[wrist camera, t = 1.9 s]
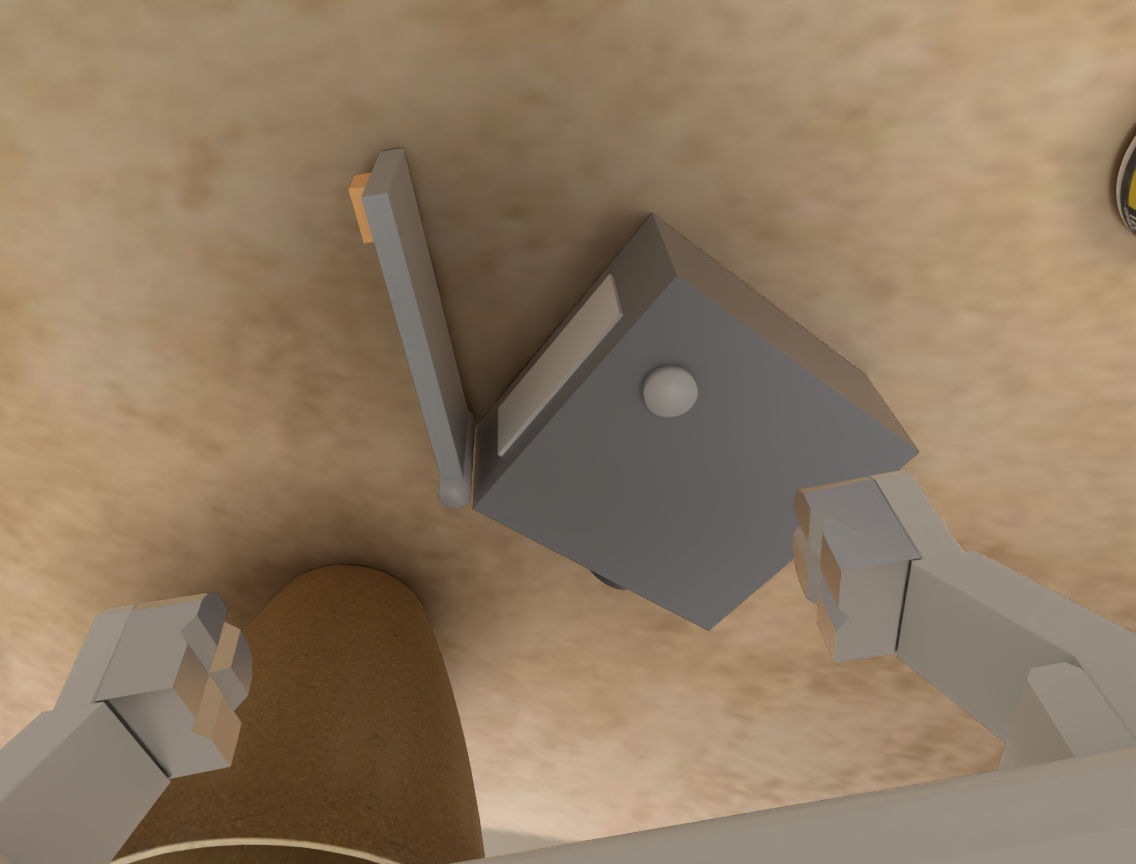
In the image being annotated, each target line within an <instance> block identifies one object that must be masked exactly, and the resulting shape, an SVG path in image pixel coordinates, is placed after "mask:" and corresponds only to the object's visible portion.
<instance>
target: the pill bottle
mask: <svg viewBox="0 0 1136 864" xmlns="http://www.w3.org/2000/svg"><path fill="white" fill-rule="evenodd" d="M1116 198H1117V205H1118V209H1119V212H1120V215H1121V218H1122V220H1123V221H1124V223H1125V225H1126V226H1127V227H1128V229H1129V230H1130V231H1131V232H1132V233H1133V234H1134V235H1135V236H1136V136H1135V137H1134V139H1133V141H1132V142H1131V144H1130V146H1129V148H1128V149H1127V151H1126V153H1125V156H1124V158H1123V161H1122V163H1121V166H1120V170H1119V173H1118V178H1117V185H1116Z"/></svg>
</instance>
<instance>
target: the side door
mask: <svg viewBox="0 0 1136 864" xmlns="http://www.w3.org/2000/svg"><path fill="white" fill-rule="evenodd" d="M348 191H349V194H350V198H351V201H352V204H353V208H354V211H355V215H356V218H357V222H358V225H359V228H360V232H361V235H362V239H363V242H364V243H370V242H374V245H375V248H376V252H377V255H378V259H379V262H380V266H381V269H382V273H383V276H384V280H385V283H386V287H387V290H388V294H389V297H390V301H391V304H392V308H393V311H394V315H395V318H396V322H397V325H398V329H399V332H400V336H401V339H402V343H403V346H404V350H405V353H406V357H407V360H408V364H409V367H410V371H411V375H412V378H413V382H414V385H415V389H416V392H417V396H418V399H419V403H420V406H421V410H422V413H423V417H424V420H425V424H426V427H427V431H428V434H429V438H430V441H431V445H432V448H433V452H434V455H435V459H436V462H437V466H438V469H439V473H440V483H439V493H438V498H439V500H440V502H441V503H442V504H443V505H444V506H446V507H449V508H453V509H457V508H462V507H464V506H466V505H467V504H468V503H469V501H470V499H471V487H472V469H473V451H474V433H475V417H474V415H473V414H472V413H471V412H470V411H468V408H467V404H466V400H465V396H464V392H463V388H462V384H461V380H460V376H459V372H458V368H457V364H456V359H455V355H454V351H453V347H452V343H451V339H450V335H449V331H448V327H447V323H446V319H445V315H444V311H443V307H442V303H441V298H440V294H439V290H438V286H437V282H436V278H435V274H434V270H433V266H432V262H431V258H430V254H429V250H428V246H427V242H426V238H425V233H424V229H423V225H422V221H421V217H420V213H419V209H418V205H417V201H416V197H415V193H414V189H413V185H412V181H411V177H410V173H409V168H408V164H407V160H406V156H405V152H404V148H399V149H393V150H387V151H380V153H379V156H378V158H377V161H376V163H375V165H374V168H373V170H372V172H371V173H366V174H360V175H355V176H354V178H353V180H352V182H351V184H350V187H349V189H348Z"/></svg>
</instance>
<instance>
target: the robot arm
mask: <svg viewBox="0 0 1136 864" xmlns="http://www.w3.org/2000/svg"><path fill="white" fill-rule="evenodd" d="M793 511H794V513H795V515H796V517H797V520H798V522H799V524H800V525H799V527H798V528H797V529H796V530H795V531H794V533H793V555H794V561H795V567H796V571H797V575H798V578H799V581H800V584H801V587H802V589H803V592H804V594H805V597H806V598H807V599H808V600H810V601H811V602H813V603H814V604H816V605H817V606H818V613H817V625H818V627H819V629H820V632H821V634H822V636H823V639H824V641H825V643H826V645H827V648H828V650H829V652H830V655H831V657H832V659H833V661H834V663H835V662H842V661H849V660H856V659H863V658H870V657H877V656H883V655H890V654H897V656H896V657H898V658H899V659H900V660H901V661H903V662H904V663H905V664H906V665H908V666H909V667H910V668H911V669H913V670H914V671H915V672H917V673H918V674H919V675H920V676H922V677H923V678H924V679H925V680H927V681H928V682H929V683H930V684H932V685H933V686H934V687H935V688H937V689H938V690H939V691H941V692H942V693H943V694H944V695H946V696H947V697H948V698H949V699H951V700H952V701H953V702H954V703H956V704H957V705H958V706H959V707H961V708H962V709H963V710H965V711H966V712H967V713H968V714H970V715H971V716H972V717H973V718H975V719H976V720H977V721H978V722H980V723H981V724H982V725H983V726H985V727H986V728H987V729H988V730H990V731H991V732H992V733H994V734H995V735H996V736H997V737H999V738H1000V739H1001V740H1002V741H1004V742H1005V743H1006V744H1005V747H1004V750H1003V753H1002V756H1001V759H1000V762H999V765H998V768H997V770H996V771H991V772H985V773H979V774H973V775H967V776H961V777H955V778H950V779H944V780H938V781H932V782H926V783H920V784H914V785H908V786H903V787H897V788H891V789H885V790H879V791H873V792H867V793H862V794H856V795H850V796H844V797H838V798H832V799H826V800H821V801H815V802H809V803H803V804H797V805H791V806H785V807H780V808H774V809H768V810H762V811H756V812H750V813H744V814H739V815H733V816H727V817H721V818H715V819H709V820H703V821H698V822H692V823H686V824H680V825H674V826H668V827H662V828H657V829H651V830H645V831H639V832H633V833H627V834H621V835H615V836H610V837H604V838H598V839H592V840H586V841H580V842H574V843H569V844H563V845H557V846H551V847H545V848H539V849H533V850H528V851H522V852H516V853H510V854H504V855H498V856H492V857H486V858H481V859H475V860H469V861H463V862H457V863H451V864H1136V634H1135V633H1133V632H1131V631H1129V630H1127V629H1125V628H1123V627H1122V626H1120V625H1118V624H1116V623H1114V622H1112V621H1110V620H1108V619H1106V618H1104V617H1102V616H1100V615H1098V614H1097V613H1095V612H1093V611H1091V610H1089V609H1087V608H1085V607H1083V606H1081V605H1079V604H1077V603H1075V602H1073V601H1072V600H1070V599H1068V598H1066V597H1064V596H1062V595H1060V594H1058V593H1056V592H1054V591H1052V590H1050V589H1048V588H1047V587H1045V586H1043V585H1041V584H1039V583H1037V582H1035V581H1033V580H1031V579H1029V578H1027V577H1025V576H1023V575H1022V574H1020V573H1018V572H1016V571H1014V570H1012V569H1010V568H1008V567H1006V566H1004V565H1002V564H1000V563H999V562H997V561H995V560H993V559H991V558H989V557H987V556H985V555H983V554H981V553H979V552H977V551H968V552H964V551H963V549H962V548H961V546H960V545H959V544H958V542H957V541H956V539H955V538H954V536H953V535H952V533H951V532H950V530H949V529H948V527H947V526H946V524H945V523H944V521H943V520H942V518H941V517H940V515H939V514H938V512H937V511H936V509H935V508H934V506H933V505H932V503H931V502H930V500H929V499H928V497H927V496H926V495H925V493H924V492H923V490H922V489H921V487H920V486H919V484H918V483H917V481H916V480H915V478H914V477H913V475H912V474H911V473H910V472H908V471H906V470H905V469H904V470H898V471H893V472H888V473H882V474H877V475H872V476H868V477H862V478H856V479H851V480H846V481H840V482H835V483H829V484H824V485H818V486H813V487H808V488H802V489H797V490H796V493H795V496H794V509H793ZM227 612H228V608H227V607H226V605H225V604H224V602H223V601H222V599H221V598H220V596H219V595H218V594H215V593H204V594H197V595H191V596H184V597H177V598H171V599H164V600H157V601H151V602H144V603H140V604H136V605H129V606H122V607H116V608H109V609H105V610H104V611H102V612H101V613H100V614H99V615H98V616H96V618H95V620H94V622H93V624H92V626H91V628H90V630H89V633H88V635H87V637H86V639H85V641H84V643H83V646H82V648H81V650H80V652H79V654H78V657H77V659H76V661H75V663H74V665H73V667H72V670H71V672H70V674H69V676H68V678H67V681H66V683H65V685H64V687H63V689H62V691H61V694H60V696H59V698H58V700H57V702H56V704H55V707H54V709H53V710H52V711H47V712H42V713H41V714H40V715H38V716H37V717H36V718H35V719H34V720H33V721H32V722H31V723H30V724H28V725H27V726H26V727H25V728H24V729H23V730H22V731H21V732H20V733H18V734H17V735H16V736H15V737H14V738H13V739H12V740H11V741H10V742H8V743H7V744H6V745H5V746H4V747H3V748H2V749H1V750H0V864H109V863H110V862H111V860H112V859H113V858H114V856H115V855H116V854H117V852H118V851H119V850H120V848H121V847H122V846H123V844H124V843H125V842H126V840H127V839H128V838H129V836H130V835H131V834H132V832H133V831H134V830H135V828H136V827H137V826H138V824H139V823H140V822H141V821H142V819H143V818H144V817H145V815H146V814H147V813H148V811H149V810H150V809H151V807H152V806H153V805H154V803H155V802H156V801H157V799H158V798H159V797H160V795H161V794H162V793H163V791H164V790H165V789H166V787H167V786H168V785H169V783H170V780H169V779H172V778H177V777H182V776H187V775H192V774H196V773H201V772H206V771H211V770H216V769H221V768H226V767H231V764H232V760H233V756H234V752H235V748H236V744H237V740H238V736H239V732H240V728H241V721H240V720H239V718H238V717H237V715H236V713H235V712H234V710H235V709H236V708H237V707H238V706H239V705H240V704H241V703H242V702H243V700H244V699H245V698H246V697H247V696H248V695H249V690H250V685H251V681H252V655H251V652H250V648H249V645H248V642H247V640H246V638H245V636H244V635H243V633H242V631H241V630H240V629H238V628H236V627H234V626H232V625H230V624H228V623H226V622H225V619H226V615H227Z"/></svg>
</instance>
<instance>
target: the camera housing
mask: <svg viewBox="0 0 1136 864" xmlns="http://www.w3.org/2000/svg"><path fill="white" fill-rule="evenodd" d="M918 453H919V451H918V449H917V448H916V446H915V445H914V443H913V442H912V440H911V439H910V438H909V436H908V435H907V433H906V432H905V430H904V429H903V427H902V426H901V425H900V423H899V422H898V420H897V419H896V417H895V416H894V414H893V413H892V411H891V410H890V409H889V407H888V406H887V404H886V403H885V401H884V400H883V398H882V397H881V396H880V394H879V393H878V391H877V390H876V388H875V387H874V385H873V384H872V382H871V381H870V380H869V378H868V377H867V375H865V374H864V373H863V372H861V371H860V370H859V369H858V368H856V367H855V366H854V365H852V364H851V363H850V362H848V361H847V360H846V359H844V358H843V357H842V356H840V355H839V354H838V353H836V352H835V351H834V350H832V349H831V348H830V347H828V346H827V345H826V344H824V343H823V342H822V341H821V340H819V339H818V338H817V337H815V336H814V335H813V334H811V333H810V332H809V331H807V330H806V329H805V328H803V327H802V326H801V325H799V324H798V323H797V322H795V321H794V320H793V319H791V318H790V317H789V316H787V315H786V314H785V313H784V312H782V311H781V310H780V309H778V308H777V307H776V306H774V305H773V304H772V303H770V302H769V301H768V300H766V299H765V298H764V297H762V296H761V295H760V294H758V293H757V292H756V291H754V290H753V289H752V288H750V287H749V286H748V285H747V284H745V283H744V282H743V281H741V280H740V279H739V278H737V277H736V276H735V275H733V274H732V273H731V272H729V271H728V270H727V269H725V268H724V267H723V266H721V265H720V264H719V263H717V262H716V261H715V260H713V259H712V258H711V257H710V256H708V255H707V254H706V253H704V252H703V251H702V250H700V249H699V248H698V247H696V246H695V245H694V244H692V243H691V242H690V241H688V240H687V239H686V238H684V237H683V236H682V235H680V234H679V233H678V232H676V231H675V230H674V229H673V228H671V227H670V226H669V225H667V224H666V223H665V222H663V221H662V220H661V219H659V218H658V217H657V216H655V215H654V214H653V213H652V214H651V215H650V216H649V217H648V219H647V220H646V221H645V222H644V223H643V225H642V226H641V227H640V228H639V229H638V231H637V232H636V233H635V234H634V236H633V237H632V238H631V239H630V240H629V242H628V243H627V244H626V245H625V246H624V248H623V249H622V250H621V251H620V253H619V254H618V255H617V256H616V257H615V259H614V260H613V261H612V262H611V263H610V265H609V266H608V267H607V268H606V270H605V271H604V272H603V273H602V274H601V276H600V277H599V278H598V279H597V280H596V282H595V283H594V284H593V285H592V286H591V288H590V289H589V290H588V291H587V293H586V294H585V295H584V296H583V297H582V299H581V300H580V301H579V302H578V303H577V305H576V306H575V307H574V308H573V310H572V311H571V312H570V313H569V314H568V316H567V317H566V318H565V319H564V320H563V322H562V323H561V324H560V325H559V327H558V328H557V329H556V330H555V331H554V333H553V334H552V335H551V336H550V337H549V339H548V340H547V341H546V342H545V343H544V345H543V346H542V347H541V348H540V350H539V351H538V352H537V353H536V354H535V356H534V357H533V358H532V359H531V360H530V362H529V363H528V364H527V365H526V367H525V368H524V369H523V370H522V371H521V373H520V374H519V375H518V376H517V377H516V379H515V380H514V381H513V382H512V384H511V385H510V386H509V387H508V388H507V390H506V391H505V392H504V393H503V394H502V396H501V397H500V398H499V399H498V400H497V402H496V403H495V404H494V405H493V407H492V408H491V409H490V410H489V411H488V413H487V414H486V415H485V416H484V417H483V419H482V420H481V421H480V422H479V424H478V425H477V434H476V453H475V472H474V492H473V509H474V510H476V511H477V512H479V513H481V514H483V515H485V516H487V517H489V518H491V519H493V520H495V521H497V522H499V523H501V524H503V525H505V526H506V527H508V528H510V529H512V530H514V531H516V532H518V533H520V534H522V535H524V536H526V537H528V538H530V539H532V540H533V541H535V542H537V543H539V544H541V545H543V546H545V547H547V548H549V549H551V550H553V551H555V552H557V553H559V554H561V555H562V556H564V557H566V558H568V559H570V560H572V561H574V562H576V563H578V564H580V565H582V566H584V567H586V568H588V569H589V570H590V571H591V572H592V573H593V574H594V575H595V576H596V577H597V578H598V579H600V580H601V581H602V582H604V583H605V584H607V585H609V586H611V587H613V588H615V589H619V590H626V589H628V590H630V591H632V592H634V593H636V594H638V595H640V596H642V597H644V598H645V599H647V600H649V601H651V602H653V603H655V604H657V605H659V606H661V607H663V608H665V609H667V610H669V611H671V612H673V613H674V614H676V615H678V616H680V617H682V618H684V619H686V620H688V621H690V622H692V623H694V624H696V625H698V626H700V627H701V628H703V629H705V630H707V631H709V630H710V629H711V628H712V627H714V626H715V625H716V624H717V623H718V622H720V621H721V620H722V619H723V618H724V617H725V616H727V615H728V614H729V613H730V612H731V611H733V610H734V609H735V608H736V607H737V606H738V605H740V604H741V603H742V602H743V601H744V600H746V599H747V598H748V597H749V596H750V595H751V594H753V593H754V592H755V591H756V590H757V589H759V588H760V587H761V586H762V585H763V584H764V583H766V582H767V581H768V580H769V579H770V578H772V577H773V576H774V575H775V574H776V573H777V572H779V571H780V570H781V569H782V568H783V567H785V566H786V565H787V564H788V563H789V562H790V561H792V560H793V559H794V555H793V533H794V531H795V530H796V529H797V528H798V527H799V525H800V524H799V522H798V520H797V517H796V515H795V513H794V511H793V509H794V496H795V493H796V490H797V489H802V488H808V487H813V486H818V485H824V484H829V483H835V482H840V481H846V480H851V479H856V478H862V477H868V476H872V475H877V474H882V473H888V472H893V471H898V470H899V469H900V468H902V467H903V466H904V465H905V464H906V463H908V462H909V461H910V460H911V459H912V458H913V457H915V456H916V455H917V454H918Z"/></svg>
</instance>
